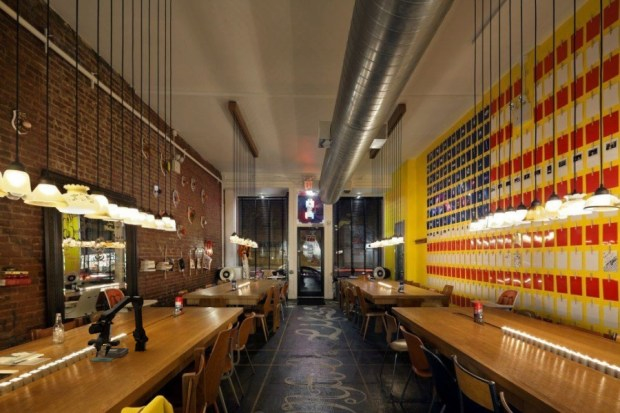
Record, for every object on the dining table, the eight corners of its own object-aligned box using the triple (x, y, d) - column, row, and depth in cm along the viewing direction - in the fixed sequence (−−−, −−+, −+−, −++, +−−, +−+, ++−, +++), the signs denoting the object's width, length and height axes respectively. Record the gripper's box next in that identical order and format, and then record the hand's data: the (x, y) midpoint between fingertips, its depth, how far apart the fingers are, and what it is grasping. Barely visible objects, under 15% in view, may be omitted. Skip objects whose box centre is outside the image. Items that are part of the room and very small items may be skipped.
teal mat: (113, 358, 258) (113, 358, 258) (108, 361, 251) (109, 361, 252) (95, 358, 258) (95, 357, 258) (90, 361, 251) (90, 360, 251)
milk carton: (110, 343, 296) (113, 318, 298) (104, 345, 288) (107, 319, 291) (101, 343, 296) (104, 317, 298) (96, 345, 289) (98, 319, 291)
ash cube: (106, 356, 257) (107, 350, 257) (104, 357, 253) (104, 351, 253) (100, 355, 257) (101, 349, 257) (97, 357, 253) (98, 351, 253)
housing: (128, 352, 275) (128, 348, 275) (119, 357, 261) (120, 353, 261) (105, 351, 274) (105, 347, 274) (95, 357, 260) (96, 352, 261)
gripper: (84, 334, 248) (81, 359, 246) (114, 335, 249) (111, 360, 247) (93, 330, 259) (90, 354, 257) (121, 331, 260) (118, 355, 259)
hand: (102, 356), depth 255 cm, fingers closed on ash cube, 4 cm apart
